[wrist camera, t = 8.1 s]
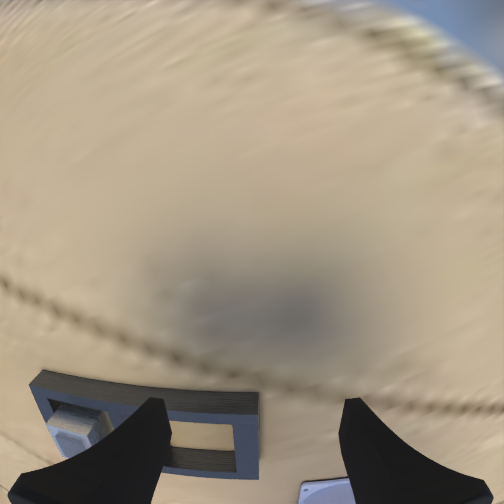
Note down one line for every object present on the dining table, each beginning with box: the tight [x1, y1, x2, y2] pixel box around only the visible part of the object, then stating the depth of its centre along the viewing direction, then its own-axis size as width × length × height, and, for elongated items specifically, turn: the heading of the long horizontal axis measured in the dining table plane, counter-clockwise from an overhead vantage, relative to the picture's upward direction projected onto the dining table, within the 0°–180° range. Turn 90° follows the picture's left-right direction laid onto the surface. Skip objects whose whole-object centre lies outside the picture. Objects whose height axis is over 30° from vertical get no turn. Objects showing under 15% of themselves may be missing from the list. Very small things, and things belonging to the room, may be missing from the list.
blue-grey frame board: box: [29, 370, 259, 480], centre depth 22 cm, size 8×19×2 cm, turn 91°
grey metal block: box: [46, 402, 114, 459], centre depth 21 cm, size 4×4×5 cm
